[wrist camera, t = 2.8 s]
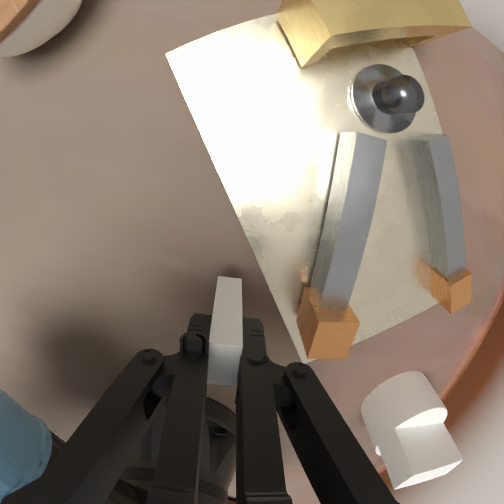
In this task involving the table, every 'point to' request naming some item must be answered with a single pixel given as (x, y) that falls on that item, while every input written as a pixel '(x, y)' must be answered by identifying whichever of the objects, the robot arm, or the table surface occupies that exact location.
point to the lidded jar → (32, 23)
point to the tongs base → (330, 165)
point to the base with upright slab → (409, 429)
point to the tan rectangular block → (365, 23)
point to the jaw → (341, 248)
